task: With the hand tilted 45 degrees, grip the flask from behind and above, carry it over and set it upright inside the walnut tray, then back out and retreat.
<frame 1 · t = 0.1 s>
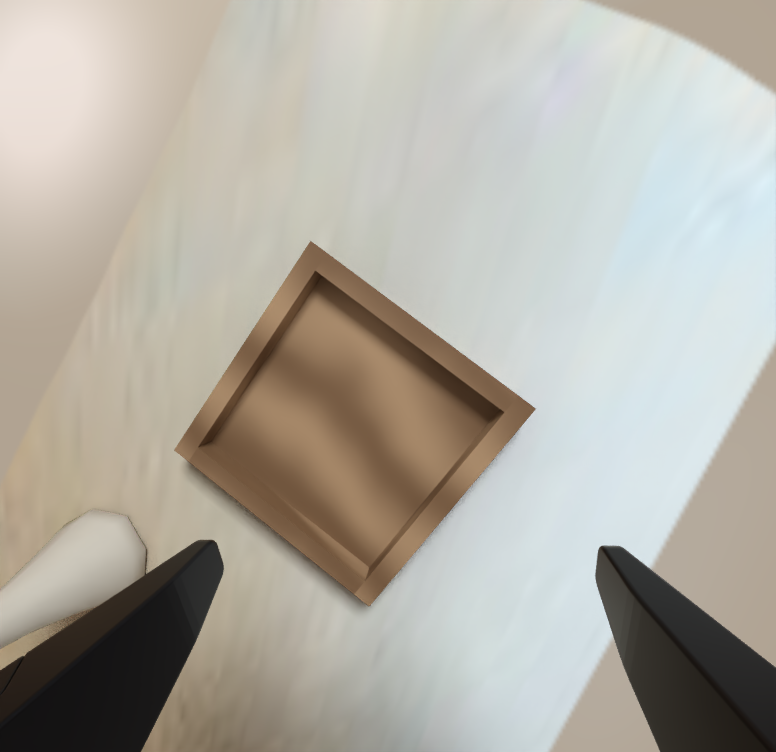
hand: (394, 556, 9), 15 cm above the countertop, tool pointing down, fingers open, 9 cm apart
flask: (110, 550, 29), on the countertop
walnut tray: (349, 422, 25), on the countertop
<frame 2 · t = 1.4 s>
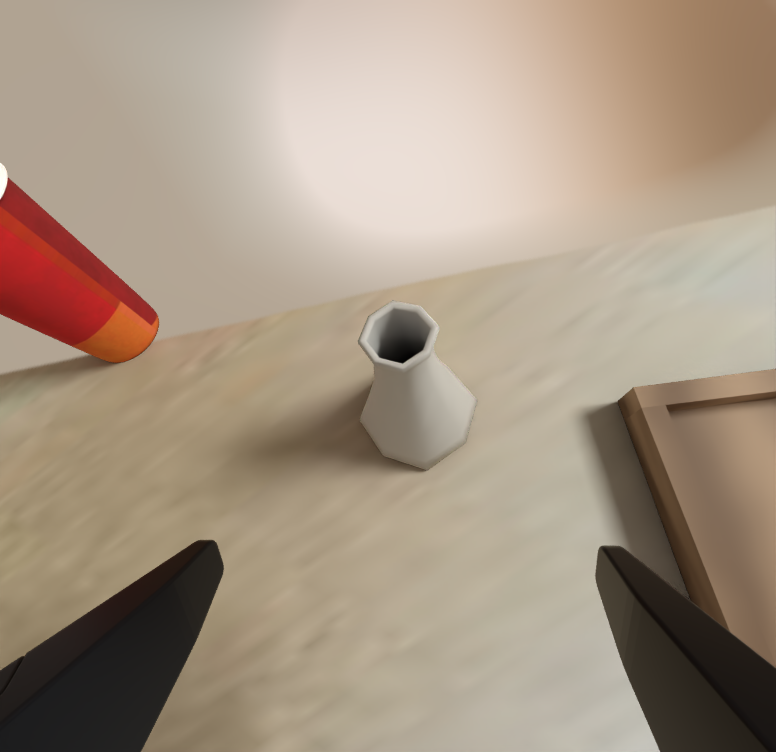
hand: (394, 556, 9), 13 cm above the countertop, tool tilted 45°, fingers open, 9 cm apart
flask: (418, 412, 24), on the countertop
paper cup: (129, 334, 31), on the countertop
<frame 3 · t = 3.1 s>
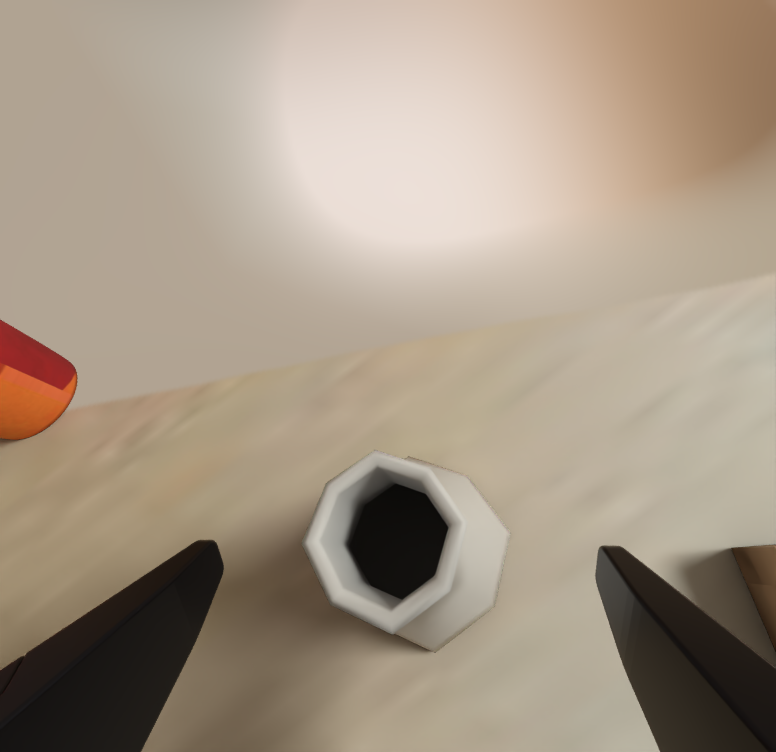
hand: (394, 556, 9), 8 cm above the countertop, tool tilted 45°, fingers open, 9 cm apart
flask: (421, 544, 16), on the countertop
paper cup: (38, 398, 23), on the countertop
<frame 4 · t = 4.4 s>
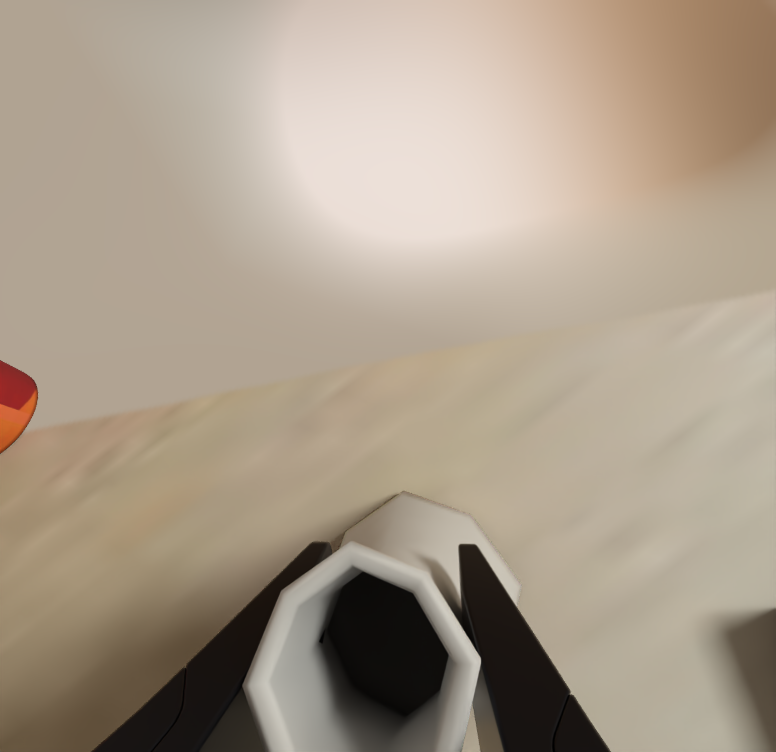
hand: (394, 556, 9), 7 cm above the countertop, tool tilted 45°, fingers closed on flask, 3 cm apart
flask: (418, 595, 14), on the countertop, touching gripper
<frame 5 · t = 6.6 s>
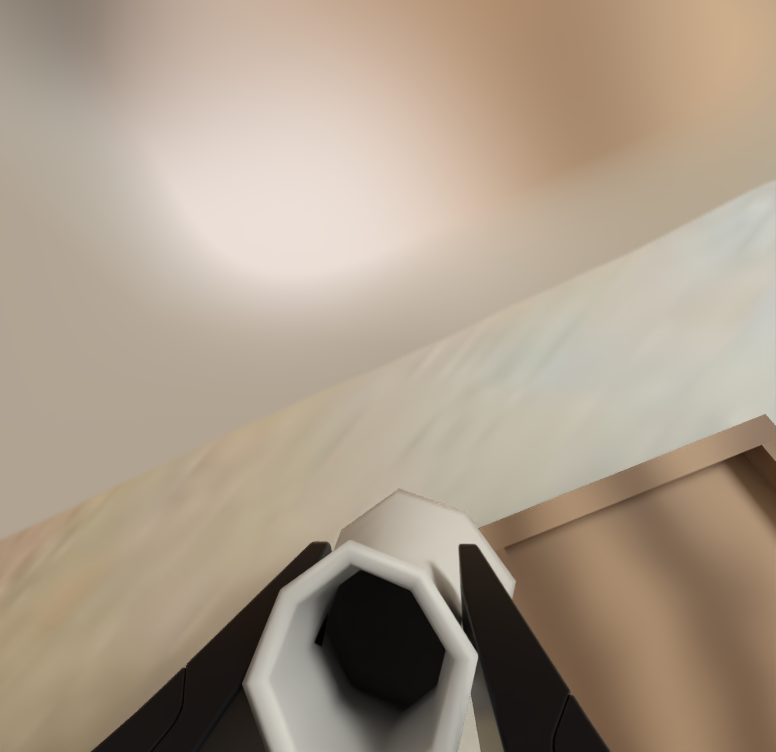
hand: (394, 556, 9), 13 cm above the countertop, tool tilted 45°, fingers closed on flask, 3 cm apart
flask: (413, 592, 14), point 6 cm above the countertop, touching gripper
walnut tray: (703, 645, 17), on the countertop
when the fingers open (9 cm above the countertop, at t = 9.1 s): flask drops 1 cm, resting on walnut tray.
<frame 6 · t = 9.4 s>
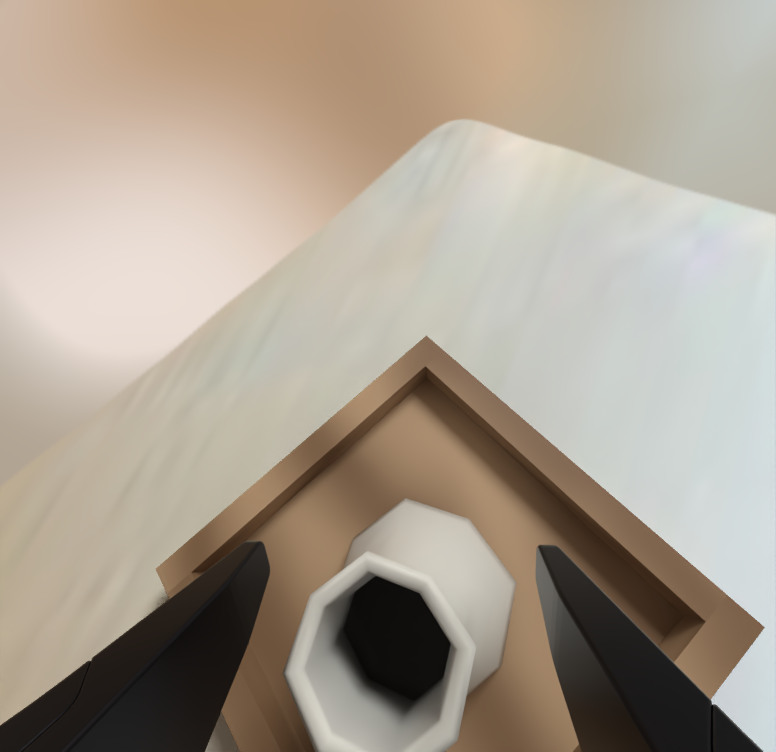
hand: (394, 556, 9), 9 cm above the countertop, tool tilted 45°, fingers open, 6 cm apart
flask: (421, 594, 15), point 1 cm above the countertop, touching walnut tray
walnut tray: (422, 588, 16), on the countertop
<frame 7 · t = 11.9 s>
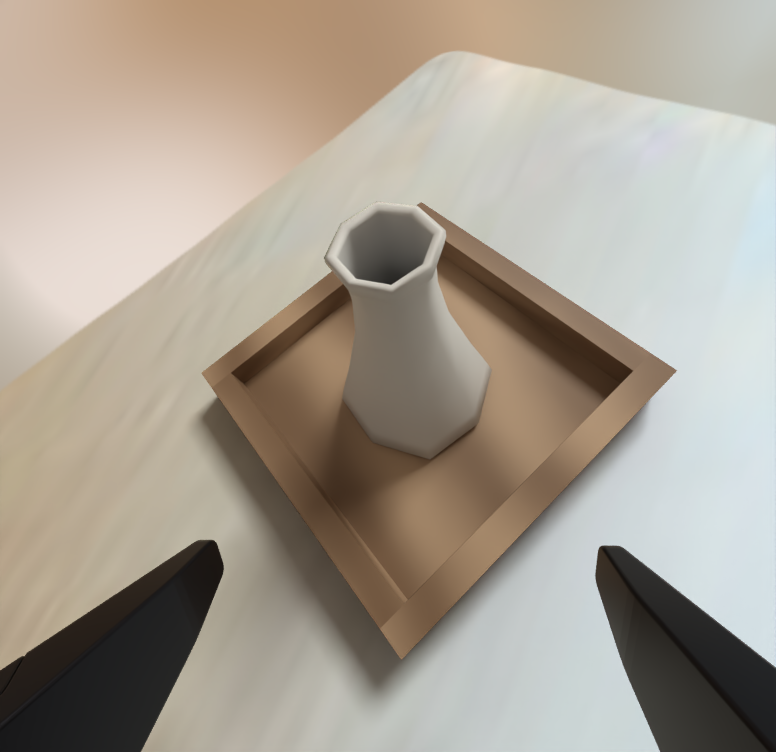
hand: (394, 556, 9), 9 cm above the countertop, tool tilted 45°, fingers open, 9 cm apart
flask: (416, 388, 19), point 1 cm above the countertop, touching walnut tray
walnut tray: (417, 389, 20), on the countertop
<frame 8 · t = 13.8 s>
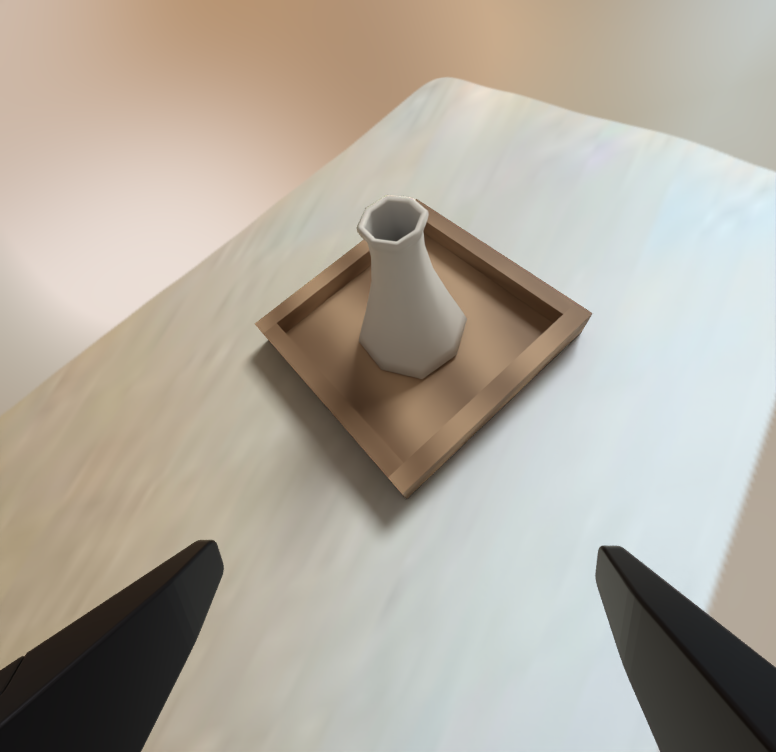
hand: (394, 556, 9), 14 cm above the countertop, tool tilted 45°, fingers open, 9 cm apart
flask: (412, 333, 26), point 1 cm above the countertop, touching walnut tray
walnut tray: (413, 335, 27), on the countertop
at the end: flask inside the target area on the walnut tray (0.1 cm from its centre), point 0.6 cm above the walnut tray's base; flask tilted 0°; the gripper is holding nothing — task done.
